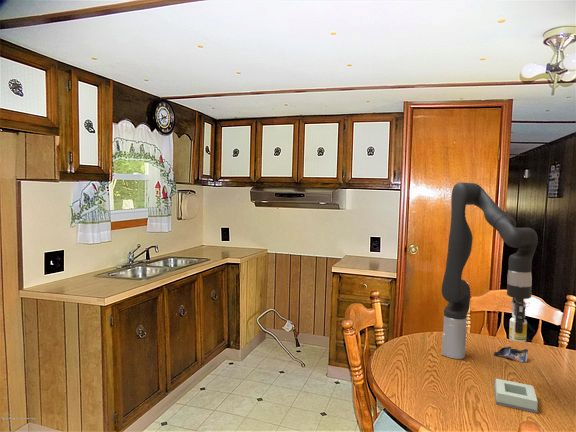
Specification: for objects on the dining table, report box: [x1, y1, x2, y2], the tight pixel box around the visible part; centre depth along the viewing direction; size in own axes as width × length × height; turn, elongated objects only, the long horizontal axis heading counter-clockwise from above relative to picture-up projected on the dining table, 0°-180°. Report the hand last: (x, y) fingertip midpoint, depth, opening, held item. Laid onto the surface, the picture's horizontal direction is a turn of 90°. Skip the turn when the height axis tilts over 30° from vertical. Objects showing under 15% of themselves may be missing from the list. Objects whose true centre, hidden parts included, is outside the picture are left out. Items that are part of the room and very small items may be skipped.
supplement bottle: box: [508, 312, 528, 343], centre depth 140 cm, size 5×5×10 cm
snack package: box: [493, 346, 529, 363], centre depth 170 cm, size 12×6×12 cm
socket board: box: [493, 378, 539, 414], centre depth 136 cm, size 12×17×4 cm
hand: (517, 329), depth 140 cm, fingers closed on supplement bottle, 5 cm apart
